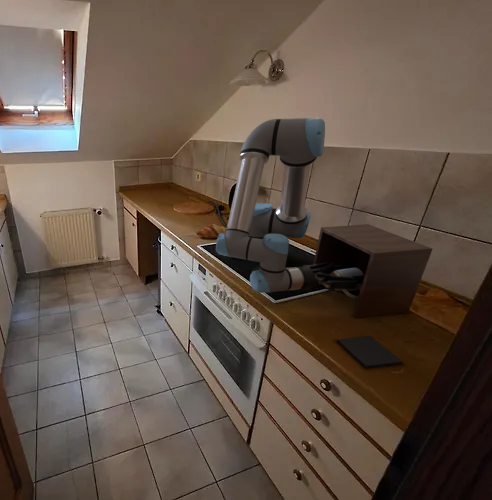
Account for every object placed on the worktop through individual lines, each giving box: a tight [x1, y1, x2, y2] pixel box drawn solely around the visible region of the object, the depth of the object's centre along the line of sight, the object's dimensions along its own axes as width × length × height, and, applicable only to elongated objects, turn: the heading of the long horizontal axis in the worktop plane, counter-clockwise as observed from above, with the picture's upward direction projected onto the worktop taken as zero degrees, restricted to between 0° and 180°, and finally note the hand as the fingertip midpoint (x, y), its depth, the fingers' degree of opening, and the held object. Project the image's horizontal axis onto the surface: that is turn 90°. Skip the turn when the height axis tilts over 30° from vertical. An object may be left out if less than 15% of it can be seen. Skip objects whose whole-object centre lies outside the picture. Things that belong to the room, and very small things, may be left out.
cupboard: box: [312, 223, 433, 318], centre depth 101 cm, size 23×18×22 cm
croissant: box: [195, 224, 227, 239], centre depth 163 cm, size 21×10×8 cm, turn 101°
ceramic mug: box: [331, 268, 364, 300], centre depth 101 cm, size 11×8×8 cm
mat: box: [336, 335, 403, 369], centre depth 79 cm, size 10×10×1 cm
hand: (360, 272), depth 102 cm, fingers closed on ceramic mug, 7 cm apart
